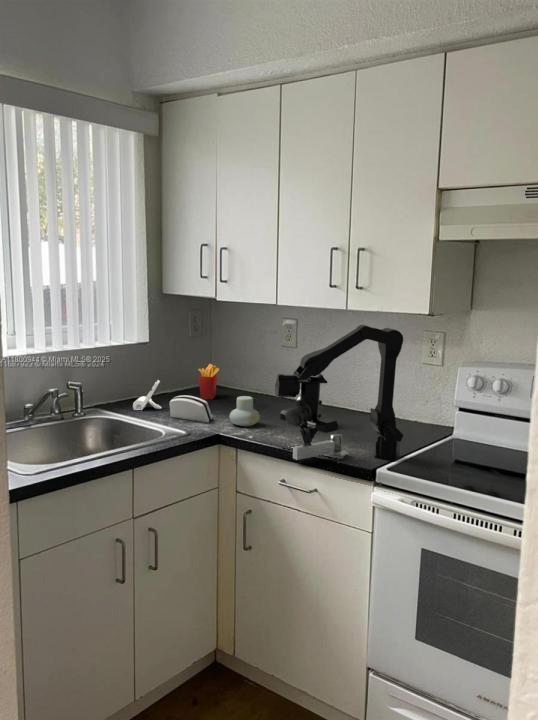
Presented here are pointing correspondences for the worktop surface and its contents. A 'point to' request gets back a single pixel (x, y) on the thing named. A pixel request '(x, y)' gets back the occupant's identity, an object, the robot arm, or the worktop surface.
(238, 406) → the air freshener
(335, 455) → the pivot base
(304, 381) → the robot arm
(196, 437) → the worktop surface
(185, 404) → the napkin holder
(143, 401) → the plastic part
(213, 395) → the french fries
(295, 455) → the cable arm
